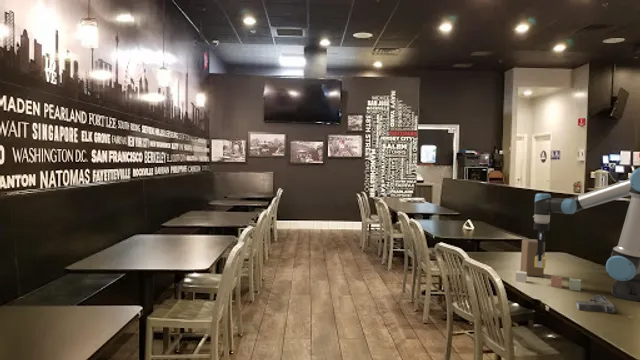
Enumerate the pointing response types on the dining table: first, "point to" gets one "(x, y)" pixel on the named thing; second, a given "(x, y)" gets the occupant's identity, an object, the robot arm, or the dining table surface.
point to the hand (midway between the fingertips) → (539, 265)
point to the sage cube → (575, 284)
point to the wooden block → (530, 258)
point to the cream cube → (521, 276)
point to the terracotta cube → (556, 281)
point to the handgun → (597, 305)
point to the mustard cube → (542, 264)
